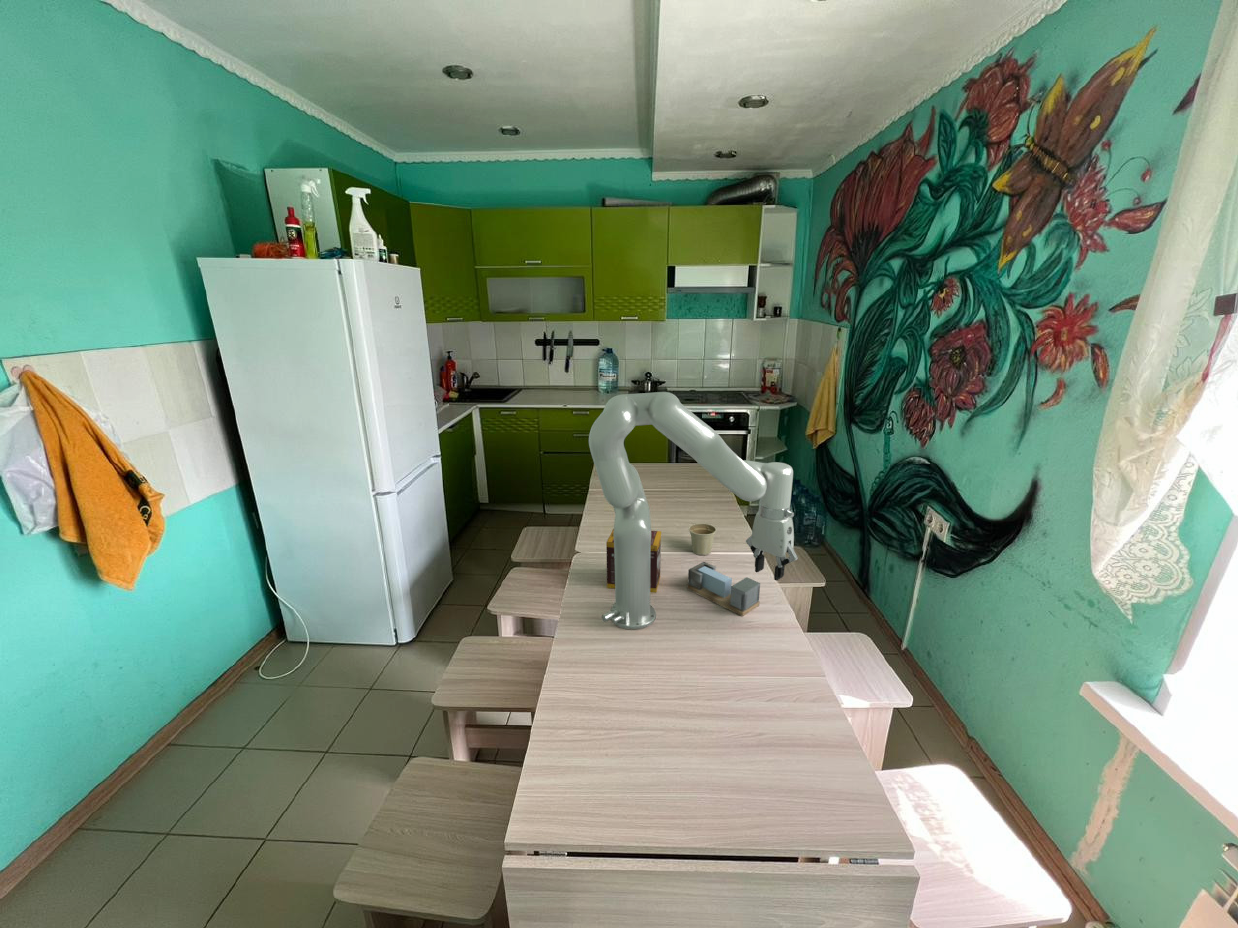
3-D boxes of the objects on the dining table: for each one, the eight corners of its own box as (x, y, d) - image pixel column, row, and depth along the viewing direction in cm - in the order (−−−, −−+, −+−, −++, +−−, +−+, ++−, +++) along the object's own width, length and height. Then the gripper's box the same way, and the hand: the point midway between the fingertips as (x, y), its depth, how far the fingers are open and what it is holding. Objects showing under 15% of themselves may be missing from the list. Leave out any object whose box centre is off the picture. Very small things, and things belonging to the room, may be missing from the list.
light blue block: (730, 593, 151) (731, 578, 150) (724, 597, 149) (725, 582, 148) (704, 580, 158) (704, 566, 157) (697, 584, 156) (697, 569, 155)
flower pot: (683, 554, 178) (684, 531, 175) (693, 543, 185) (694, 521, 183) (710, 560, 173) (711, 536, 171) (718, 548, 181) (720, 526, 179)
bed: (759, 605, 147) (760, 586, 145) (742, 616, 142) (743, 596, 140) (704, 579, 162) (704, 561, 160) (687, 588, 156) (687, 569, 155)
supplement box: (657, 593, 154) (657, 545, 149) (606, 588, 157) (605, 541, 152) (661, 576, 164) (662, 530, 159) (613, 571, 167) (613, 527, 162)
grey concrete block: (758, 601, 147) (760, 583, 145) (743, 611, 142) (745, 592, 140) (745, 594, 150) (746, 577, 148) (730, 604, 145) (731, 586, 143)
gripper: (812, 516, 128) (805, 581, 134) (754, 498, 141) (749, 558, 146) (796, 525, 124) (790, 592, 129) (737, 505, 136) (733, 567, 141)
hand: (768, 573), depth 138 cm, fingers open, 5 cm apart
